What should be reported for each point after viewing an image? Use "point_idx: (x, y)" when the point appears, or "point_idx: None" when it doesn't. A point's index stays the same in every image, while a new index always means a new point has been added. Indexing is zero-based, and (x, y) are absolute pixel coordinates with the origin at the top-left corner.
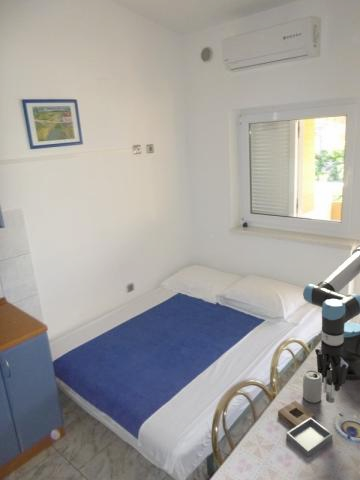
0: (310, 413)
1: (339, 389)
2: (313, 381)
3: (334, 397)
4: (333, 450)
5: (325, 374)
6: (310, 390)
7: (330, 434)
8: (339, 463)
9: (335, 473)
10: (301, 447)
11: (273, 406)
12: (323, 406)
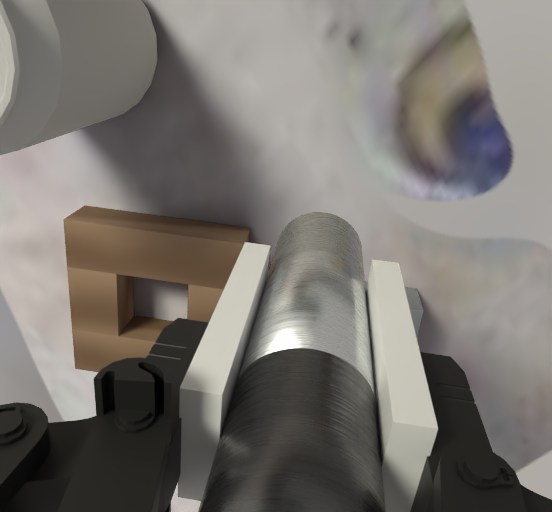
0: (214, 253)
1: (459, 368)
2: (17, 125)
3: (361, 259)
4: (458, 349)
5: (159, 502)
6: (68, 132)
7: (414, 323)
8: (521, 397)
9: (528, 453)
10: None
11: (21, 306)
12: (208, 61)
